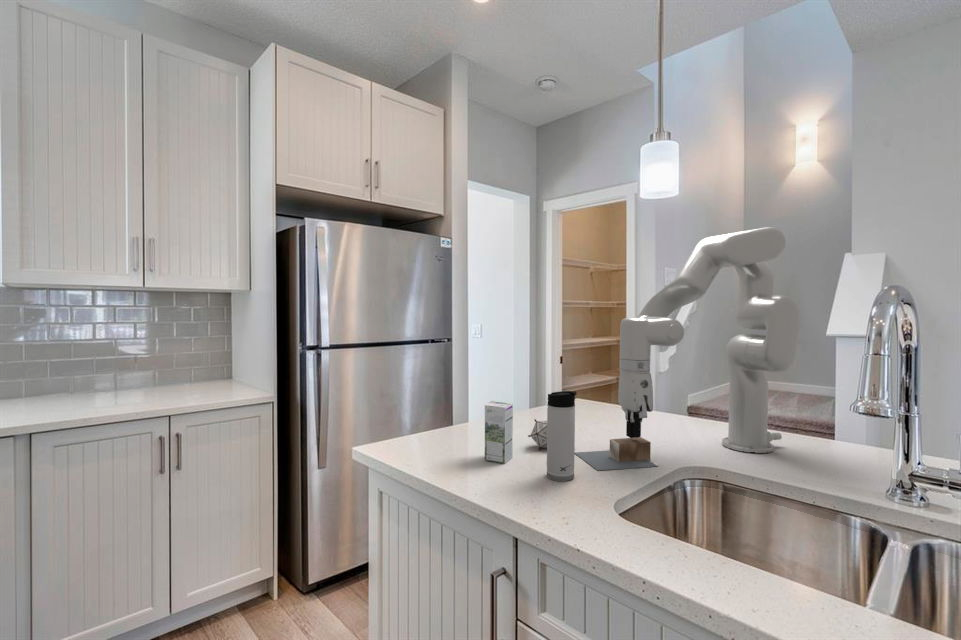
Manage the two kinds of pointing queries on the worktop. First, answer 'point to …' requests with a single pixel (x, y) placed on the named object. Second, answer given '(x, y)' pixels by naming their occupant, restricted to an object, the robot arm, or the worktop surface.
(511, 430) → the syrup box
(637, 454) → the pillar block
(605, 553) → the worktop surface
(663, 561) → the worktop surface
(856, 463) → the worktop surface
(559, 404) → the travel mug
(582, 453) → the mat
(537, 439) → the game die
